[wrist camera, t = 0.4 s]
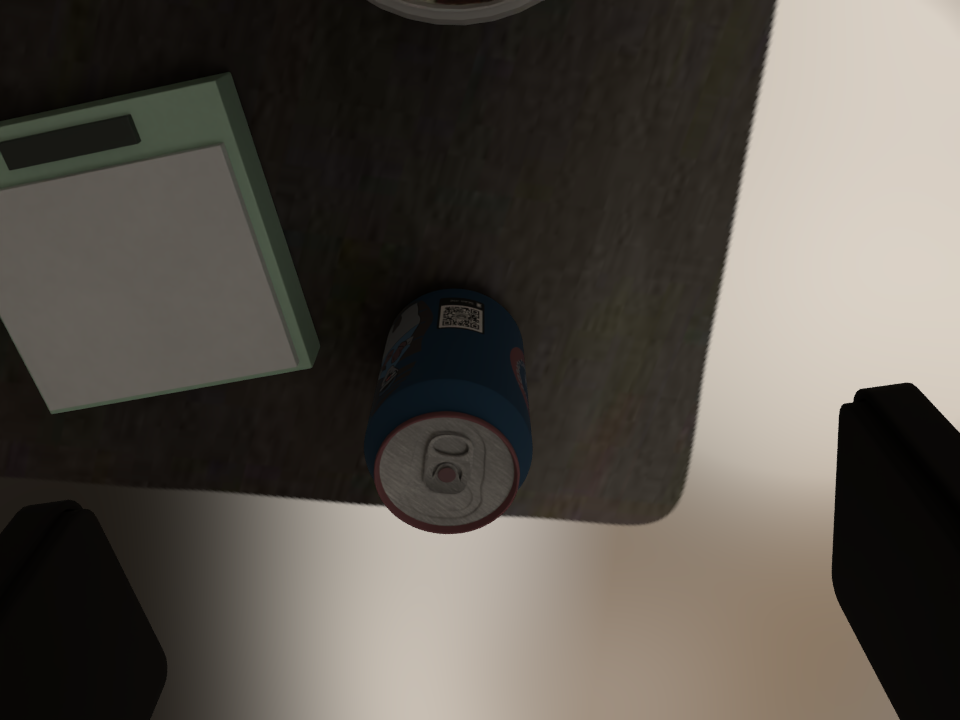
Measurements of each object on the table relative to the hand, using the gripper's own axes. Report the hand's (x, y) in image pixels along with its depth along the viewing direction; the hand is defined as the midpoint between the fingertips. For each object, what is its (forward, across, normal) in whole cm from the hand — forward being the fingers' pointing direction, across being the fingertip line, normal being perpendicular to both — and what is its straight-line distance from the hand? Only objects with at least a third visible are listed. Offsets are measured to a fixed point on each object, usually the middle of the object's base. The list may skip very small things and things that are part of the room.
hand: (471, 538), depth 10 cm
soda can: (+30, +3, +12) cm, 32 cm away
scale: (+30, +18, +4) cm, 35 cm away
